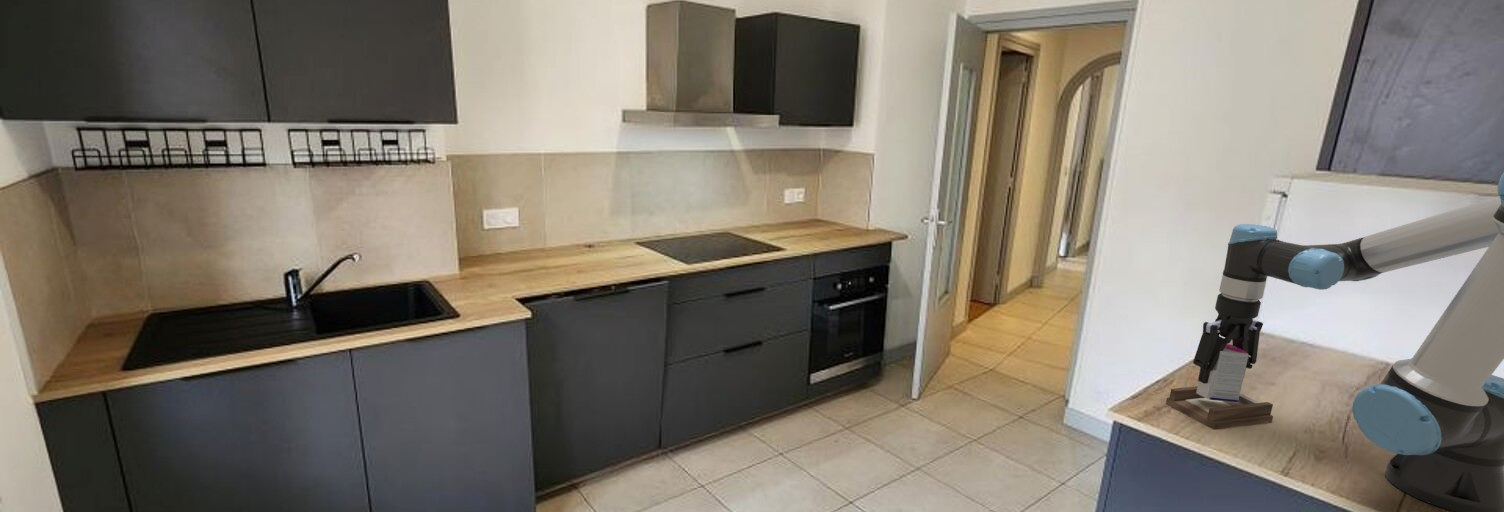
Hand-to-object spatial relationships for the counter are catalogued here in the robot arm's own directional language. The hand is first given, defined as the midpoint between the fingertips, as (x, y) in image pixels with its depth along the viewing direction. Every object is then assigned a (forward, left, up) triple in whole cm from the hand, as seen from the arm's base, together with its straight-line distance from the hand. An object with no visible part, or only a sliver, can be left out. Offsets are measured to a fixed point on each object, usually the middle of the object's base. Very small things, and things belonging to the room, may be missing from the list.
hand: (1217, 394), depth 143 cm
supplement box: (0, 0, -1) cm, 1 cm away
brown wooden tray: (0, -1, -5) cm, 5 cm away
